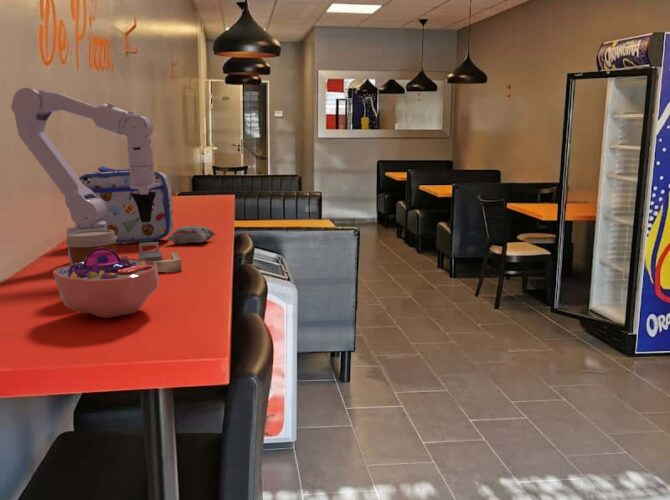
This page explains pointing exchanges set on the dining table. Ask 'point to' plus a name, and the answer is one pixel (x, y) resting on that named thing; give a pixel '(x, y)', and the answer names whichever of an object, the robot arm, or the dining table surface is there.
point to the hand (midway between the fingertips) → (145, 222)
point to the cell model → (106, 284)
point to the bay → (167, 263)
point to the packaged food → (191, 235)
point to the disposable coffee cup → (89, 243)
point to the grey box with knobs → (150, 252)
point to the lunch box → (131, 205)
